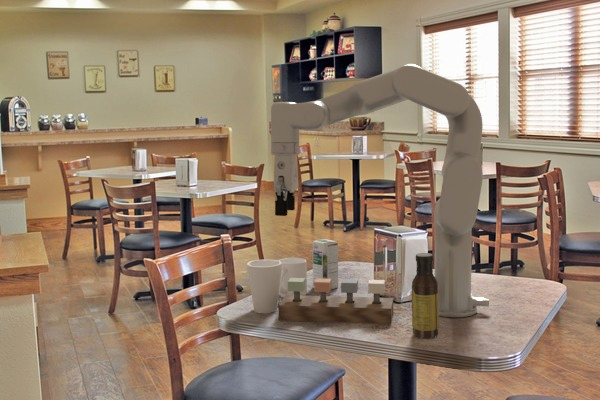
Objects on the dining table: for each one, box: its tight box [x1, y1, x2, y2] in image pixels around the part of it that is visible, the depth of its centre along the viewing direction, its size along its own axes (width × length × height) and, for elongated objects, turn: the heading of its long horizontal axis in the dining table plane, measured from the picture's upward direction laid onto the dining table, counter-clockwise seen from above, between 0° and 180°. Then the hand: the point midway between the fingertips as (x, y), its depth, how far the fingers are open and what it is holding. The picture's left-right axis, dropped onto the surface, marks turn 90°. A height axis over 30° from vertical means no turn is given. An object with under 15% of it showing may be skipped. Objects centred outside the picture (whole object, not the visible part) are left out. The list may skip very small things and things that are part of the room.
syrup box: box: [311, 238, 339, 290], centre depth 225 cm, size 6×6×14 cm
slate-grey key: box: [340, 278, 359, 303], centre depth 195 cm, size 4×4×7 cm
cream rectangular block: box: [367, 279, 386, 304], centre depth 193 cm, size 4×4×7 cm
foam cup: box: [246, 258, 282, 314], centre depth 203 cm, size 10×9×13 cm
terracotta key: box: [313, 278, 333, 303], centre depth 196 cm, size 4×4×7 cm
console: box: [277, 295, 394, 325], centre depth 196 cm, size 29×10×4 cm, turn 80°
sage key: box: [288, 278, 306, 302], centre depth 197 cm, size 4×4×7 cm
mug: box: [278, 257, 308, 299], centre depth 216 cm, size 12×8×10 cm
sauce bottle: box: [411, 252, 440, 340], centre depth 178 cm, size 6×6×20 cm
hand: (285, 212), depth 200 cm, fingers open, 9 cm apart
